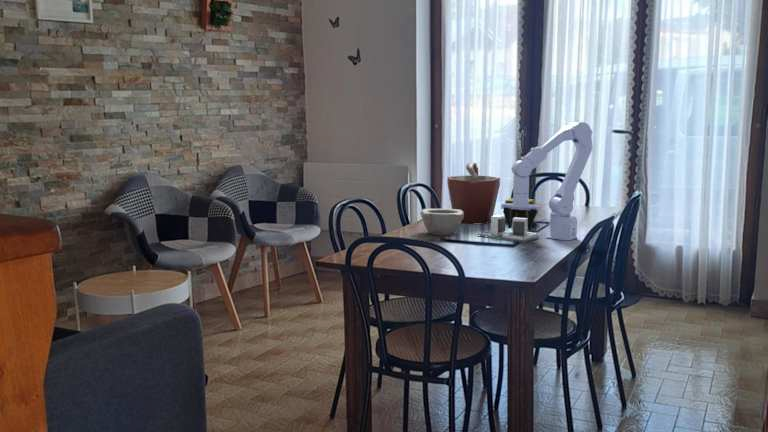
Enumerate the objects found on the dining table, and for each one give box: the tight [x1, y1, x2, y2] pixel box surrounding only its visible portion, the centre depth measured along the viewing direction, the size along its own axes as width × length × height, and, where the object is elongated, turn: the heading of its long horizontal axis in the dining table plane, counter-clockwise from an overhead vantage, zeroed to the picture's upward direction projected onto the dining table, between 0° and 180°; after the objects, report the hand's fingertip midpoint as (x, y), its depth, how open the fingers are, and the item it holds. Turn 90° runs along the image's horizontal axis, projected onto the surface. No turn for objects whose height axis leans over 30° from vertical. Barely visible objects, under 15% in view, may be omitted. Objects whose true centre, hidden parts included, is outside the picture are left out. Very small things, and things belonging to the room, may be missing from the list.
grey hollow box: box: [477, 214, 539, 243], centre depth 271 cm, size 20×11×8 cm, turn 51°
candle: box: [504, 197, 535, 225], centre depth 302 cm, size 10×10×10 cm
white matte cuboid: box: [511, 217, 529, 237], centre depth 267 cm, size 4×5×7 cm
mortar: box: [420, 208, 464, 236], centre depth 278 cm, size 17×17×9 cm
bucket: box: [446, 162, 501, 225], centre depth 306 cm, size 24×22×25 cm
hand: (519, 228), depth 267 cm, fingers open, 7 cm apart
